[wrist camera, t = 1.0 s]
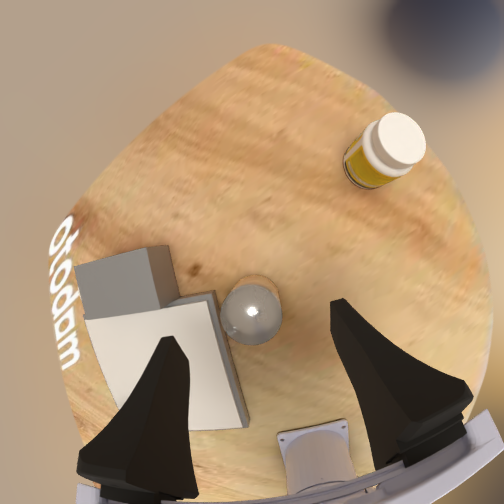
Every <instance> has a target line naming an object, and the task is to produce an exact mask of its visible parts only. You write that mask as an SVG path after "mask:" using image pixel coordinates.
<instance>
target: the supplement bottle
mask: <svg viewBox="0 0 504 504" xmlns="http://www.w3.org/2000/svg"><path fill="white" fill-rule="evenodd" d="M425 150H426V142H425V137H424V135H423V132H422V130H421V129H420V127H419V126H418V124H417V123H416V122H415V121H414V120H413V119H411V118H410V117H408V116H406V115H404V114H402V113H396V112H393V113H388V114H386V115H384V116H383V117H382V118H381V119H380V120H376V121H374V122H372V123H370V124H369V125H368V126H367V127H366V128H365V129H364V130H363V132H362V133H361V134H360V135H359V136H358V137H357V138H356V140H355V141H354V142H353V143H352V144H351V145H350V147H349V148H348V149H347V151H346V152H345V155H344V160H343V163H344V169H345V172H346V174H347V176H348V178H349V179H350V180H351V181H352V182H353V183H354V184H355V185H357V186H359V187H361V188H364V189H375V188H378V187H380V186H382V185H384V184H386V183H388V182H391V181H393V180H395V179H397V178H399V177H401V176H403V175H405V174H406V173H408V172H409V171H410V170H411V169H412V167H413V165H414V164H416V163H417V162H419V161H420V160H421V159H422V157H423V156H424V154H425Z"/></svg>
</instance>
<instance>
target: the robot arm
mask: <svg viewBox="0 0 504 504" xmlns="http://www.w3.org/2000/svg"><path fill="white" fill-rule="evenodd" d="M330 331H331V334H332V337H333V340H334V344H335V347H336V350H337V352H338V354H339V356H340V359H341V361H342V363H343V365H344V367H345V370H346V372H347V374H348V376H349V378H350V381H351V383H352V385H353V387H354V390H355V392H356V395H357V398H358V401H359V405H360V408H361V411H362V415H363V419H364V422H365V426H366V430H367V434H368V438H369V442H370V447H371V452H372V457H373V463H374V467H375V470H376V471H375V472H372V473H369V474H367V475H364V476H361V477H358V478H357V475H356V472H355V469H354V466H353V463H352V460H351V457H350V454H349V438H348V422H347V420H346V419H342V420H339V421H335V422H331V423H327V424H322V425H318V426H313V427H309V428H304V429H298V430H293V431H287V432H281V433H279V434H278V435H277V439H278V443H279V446H280V450H281V454H282V458H283V462H284V465H285V469H286V477H287V495H286V496H280V497H274V498H266V499H258V500H248V501H235V502H177V501H176V500H183V499H184V498H185V499H195V498H196V497H197V496H198V495H199V492H198V488H197V484H196V479H195V475H194V469H193V464H192V457H191V450H190V441H189V429H188V416H189V397H190V366H189V360H188V358H187V357H186V355H185V353H184V352H183V350H182V349H181V347H180V346H179V344H178V342H177V341H176V339H175V337H174V336H166V337H161V339H160V341H159V343H158V345H157V346H156V348H155V350H154V352H153V354H152V356H151V358H150V360H149V362H148V364H147V366H146V368H145V370H144V372H143V374H142V375H141V377H140V379H139V381H138V382H137V384H136V386H135V388H134V389H133V391H132V393H131V394H130V396H129V397H128V399H127V400H126V402H125V403H124V405H123V406H122V407H121V409H120V410H119V411H118V413H117V414H116V415H115V416H114V417H113V419H112V420H111V421H110V422H109V423H108V425H107V426H106V427H105V428H104V429H103V430H102V431H101V432H100V433H99V434H98V435H97V436H96V437H95V438H94V439H93V440H92V441H90V442H89V443H88V444H87V445H86V446H84V447H83V448H82V449H81V450H80V451H79V457H78V463H77V473H78V475H80V476H82V477H84V478H86V479H89V480H91V481H93V482H96V483H98V484H101V488H96V487H93V486H89V485H85V484H82V483H78V484H77V495H76V504H431V503H433V502H434V501H436V500H438V499H439V498H441V497H442V496H444V495H445V494H447V493H448V492H450V491H451V490H453V489H454V488H455V487H457V486H458V485H460V484H461V483H463V482H464V481H465V480H467V479H468V478H469V477H471V476H472V475H473V474H475V473H476V472H477V471H478V470H480V469H481V468H482V467H483V466H485V465H486V464H487V463H488V462H490V461H491V460H492V459H493V458H495V457H496V456H497V455H498V454H499V453H500V452H502V451H503V450H504V444H503V441H502V439H501V437H500V435H499V432H498V430H497V428H496V426H495V424H494V422H493V419H492V418H491V415H490V413H489V411H488V409H485V410H483V411H482V412H481V413H479V414H478V415H477V416H475V417H474V418H472V419H471V420H469V421H468V422H467V423H465V424H464V425H463V423H462V420H463V419H464V417H463V415H462V413H461V412H462V411H463V410H464V409H465V408H466V407H467V406H468V405H469V404H470V402H471V401H472V400H473V397H474V396H473V394H472V392H471V391H470V389H469V387H468V385H467V384H466V383H465V381H464V380H461V379H458V378H456V377H453V376H450V375H447V374H445V373H443V372H441V371H438V370H436V369H434V368H432V367H430V366H428V365H427V364H425V363H423V362H421V361H419V360H417V359H416V358H414V357H412V356H411V355H409V354H408V353H406V352H405V351H403V350H402V349H400V348H399V347H397V346H396V345H395V344H393V343H392V342H391V341H389V340H388V339H387V338H386V337H384V336H383V335H382V334H381V333H380V332H378V331H377V330H376V329H375V328H374V327H373V326H372V325H371V324H369V323H368V322H367V321H366V320H365V319H364V318H363V317H362V316H361V315H360V314H359V313H358V312H357V311H356V310H355V309H354V308H353V307H352V306H351V305H350V304H349V303H348V302H347V301H346V300H345V299H344V298H342V299H338V300H335V301H331V302H330ZM342 426H344V427H342ZM281 439H283V440H281ZM375 485H377V487H376V488H373V487H372V486H375ZM364 489H365V491H364Z"/></svg>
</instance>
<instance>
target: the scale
mask: <svg viewBox="0 0 504 504" xmlns="http://www.w3.org/2000/svg"><path fill="white" fill-rule="evenodd" d="M74 269H75V274H76V279H77V283H78V291H79V295H80V298H81V300H82V303H83V307H84V311H85V314H84V315H83V317H84V320H85V324H86V327H87V330H88V334H89V337H90V340H91V343H92V346H93V349H94V351H95V354H96V357H97V360H98V362H99V365H100V368H101V370H102V373H103V375H104V378H105V380H106V383H107V385H108V387H109V390H110V392H111V394H112V396H113V399H114V401H115V403H116V405H117V407H118V409H119V410H120V409H121V407H122V406H123V405H124V403H125V402H126V400H127V399H128V397H129V396H130V394H131V393H132V391H133V389H134V388H135V386H136V384H137V382H138V381H139V379H140V377H141V375H142V374H143V372H144V370H145V368H146V366H147V364H148V362H149V360H150V358H151V356H152V354H153V352H154V350H155V348H156V346H157V345H158V343H159V341H160V339H161V337H166V336H174V337H175V339H176V341H177V342H178V344H179V346H180V347H181V349H182V350H183V352H184V353H185V355H186V357H187V358H188V360H189V366H190V397H189V416H188V429H189V431H209V430H226V429H238V428H248V427H249V421H250V419H249V415H248V412H247V409H246V405H245V402H244V399H243V395H242V392H241V388H240V385H239V381H238V378H237V374H236V371H235V367H234V363H233V360H232V356H231V352H230V349H229V345H228V341H227V337H226V333H225V330H224V328H223V326H222V323H221V319H220V310H219V306H218V301H217V297H216V293H215V290H213V291H208V292H202V293H197V294H192V295H186V296H181V297H180V294H179V290H178V286H177V282H176V278H175V273H174V269H173V265H172V260H171V256H170V251H169V246H168V245H167V246H155V247H145V248H141V249H137V250H133V251H130V252H126V253H122V254H118V255H114V256H111V257H107V258H103V259H100V260H96V261H92V262H89V263H85V264H81V265H78V266H74Z"/></svg>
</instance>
